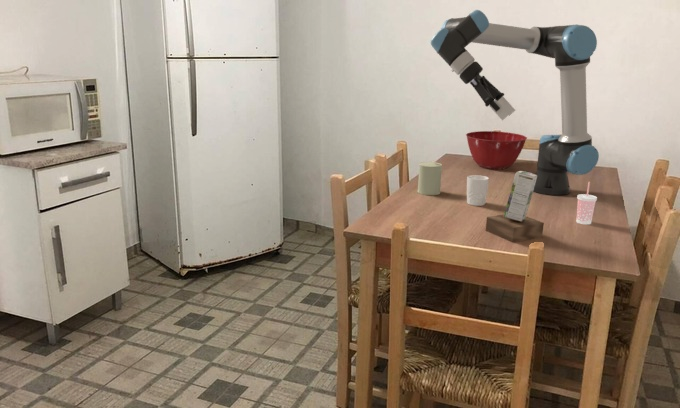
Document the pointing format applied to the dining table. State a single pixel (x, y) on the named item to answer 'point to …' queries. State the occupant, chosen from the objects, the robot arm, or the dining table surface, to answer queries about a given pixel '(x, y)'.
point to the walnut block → (514, 228)
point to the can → (429, 178)
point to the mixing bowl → (495, 148)
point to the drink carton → (520, 195)
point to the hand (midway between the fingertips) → (509, 115)
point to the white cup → (477, 189)
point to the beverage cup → (585, 207)
